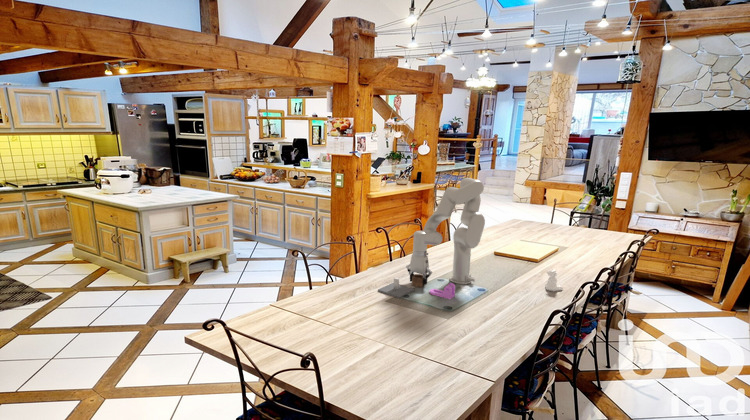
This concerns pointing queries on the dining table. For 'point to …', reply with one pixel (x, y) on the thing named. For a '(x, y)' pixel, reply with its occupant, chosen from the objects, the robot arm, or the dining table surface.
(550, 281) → the seated beast figurine
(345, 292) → the dining table surface
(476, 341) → the dining table surface
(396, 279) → the post
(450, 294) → the bracket
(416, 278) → the collar
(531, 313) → the dining table surface
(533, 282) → the dining table surface
